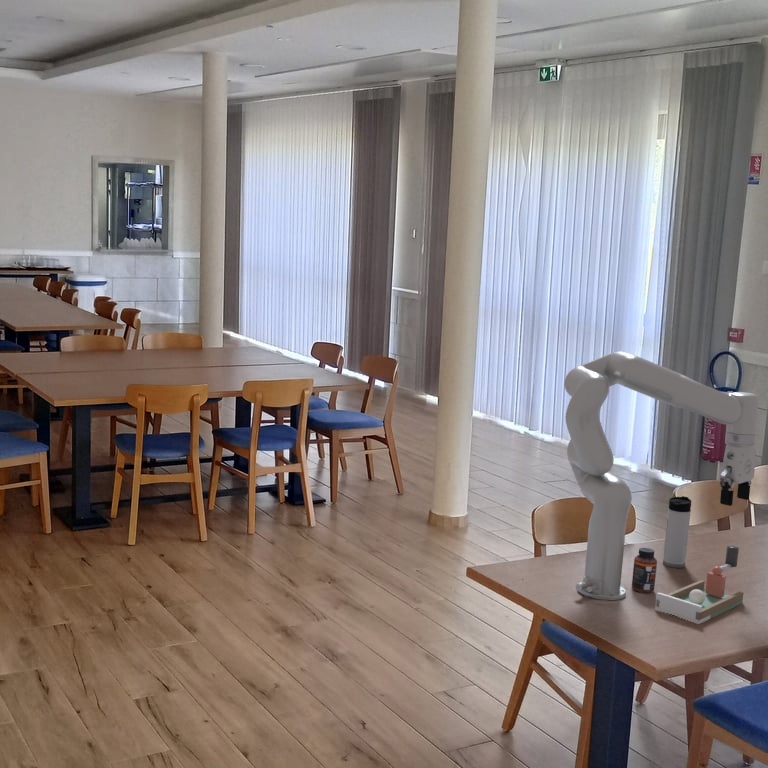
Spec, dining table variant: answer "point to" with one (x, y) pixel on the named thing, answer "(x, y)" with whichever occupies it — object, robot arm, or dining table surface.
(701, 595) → the ball
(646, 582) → the supplement bottle
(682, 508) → the travel mug
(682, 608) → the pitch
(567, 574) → the dining table surface
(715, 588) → the kicker rod
